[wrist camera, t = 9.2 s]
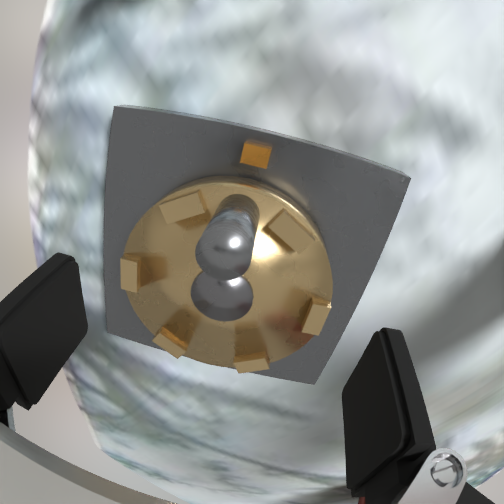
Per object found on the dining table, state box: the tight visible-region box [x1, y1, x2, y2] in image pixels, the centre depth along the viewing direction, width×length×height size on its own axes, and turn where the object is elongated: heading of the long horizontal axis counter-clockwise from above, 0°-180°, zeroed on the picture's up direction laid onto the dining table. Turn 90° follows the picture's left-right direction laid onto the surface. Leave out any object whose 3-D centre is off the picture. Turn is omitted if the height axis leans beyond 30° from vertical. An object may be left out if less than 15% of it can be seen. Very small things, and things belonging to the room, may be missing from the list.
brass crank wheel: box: [120, 176, 333, 373], centre depth 19 cm, size 14×14×8 cm
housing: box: [104, 105, 411, 384], centre depth 23 cm, size 20×20×3 cm
